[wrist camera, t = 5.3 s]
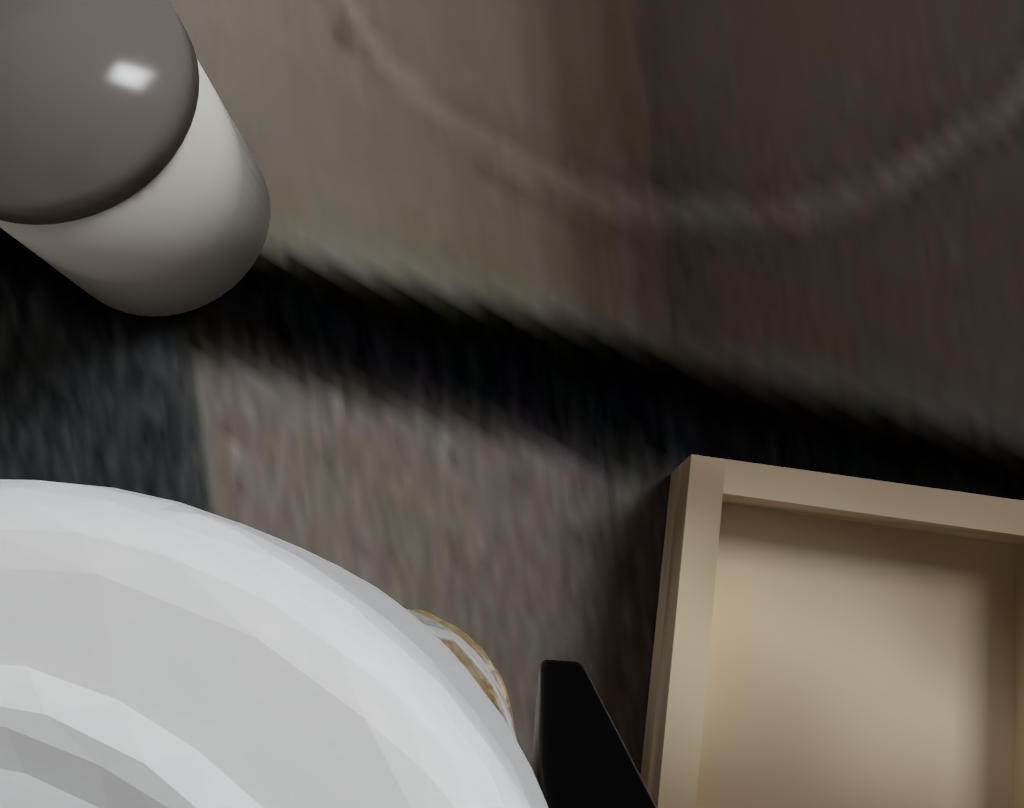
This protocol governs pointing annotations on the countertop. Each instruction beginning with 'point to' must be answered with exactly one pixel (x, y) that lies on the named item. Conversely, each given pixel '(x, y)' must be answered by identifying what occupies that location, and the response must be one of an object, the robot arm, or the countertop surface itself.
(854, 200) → the countertop surface
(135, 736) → the sprinkles bottle
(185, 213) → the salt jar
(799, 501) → the caddy
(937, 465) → the countertop surface
